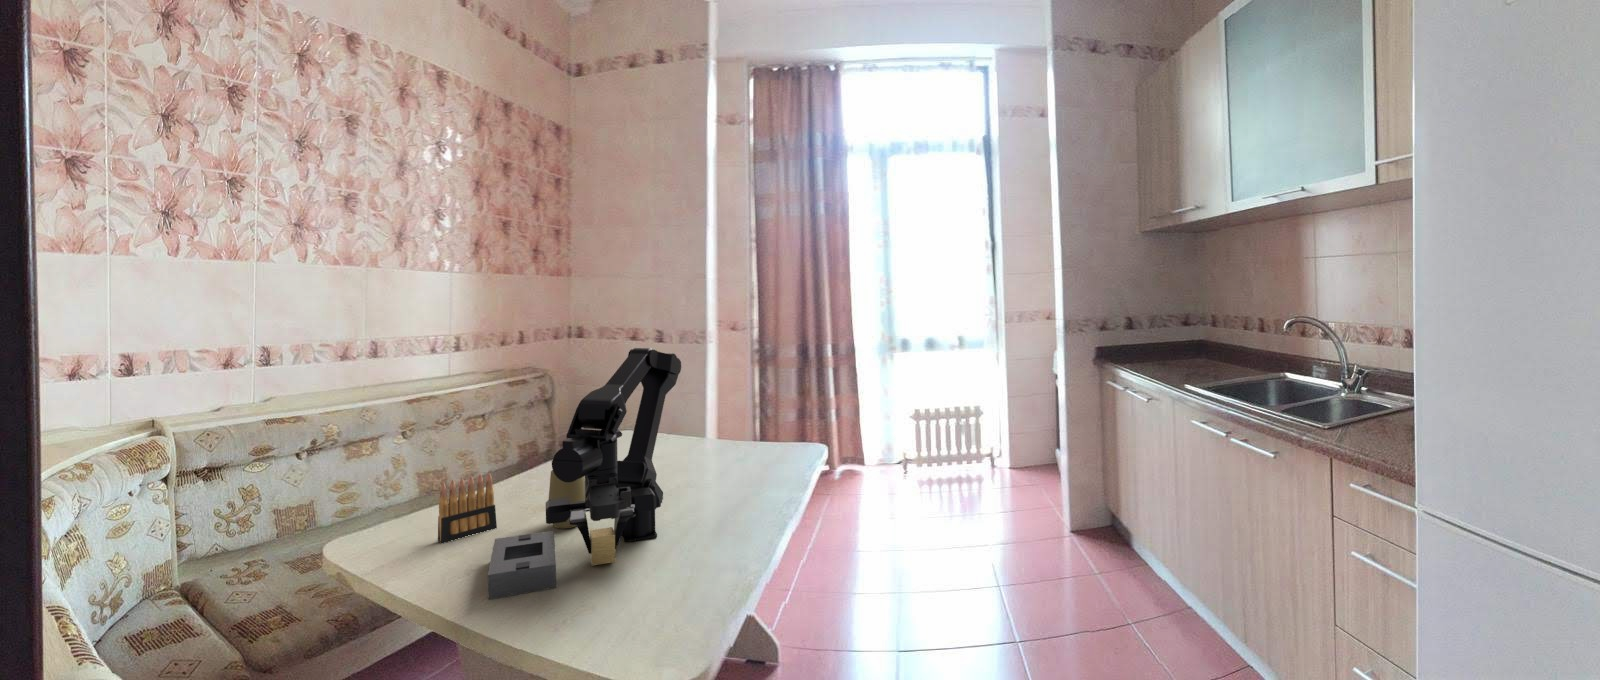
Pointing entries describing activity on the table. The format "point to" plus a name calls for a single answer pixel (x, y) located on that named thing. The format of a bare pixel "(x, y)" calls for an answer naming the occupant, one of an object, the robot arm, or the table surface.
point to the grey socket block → (522, 565)
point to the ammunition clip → (466, 510)
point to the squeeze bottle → (566, 493)
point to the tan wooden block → (602, 546)
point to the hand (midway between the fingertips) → (602, 550)
